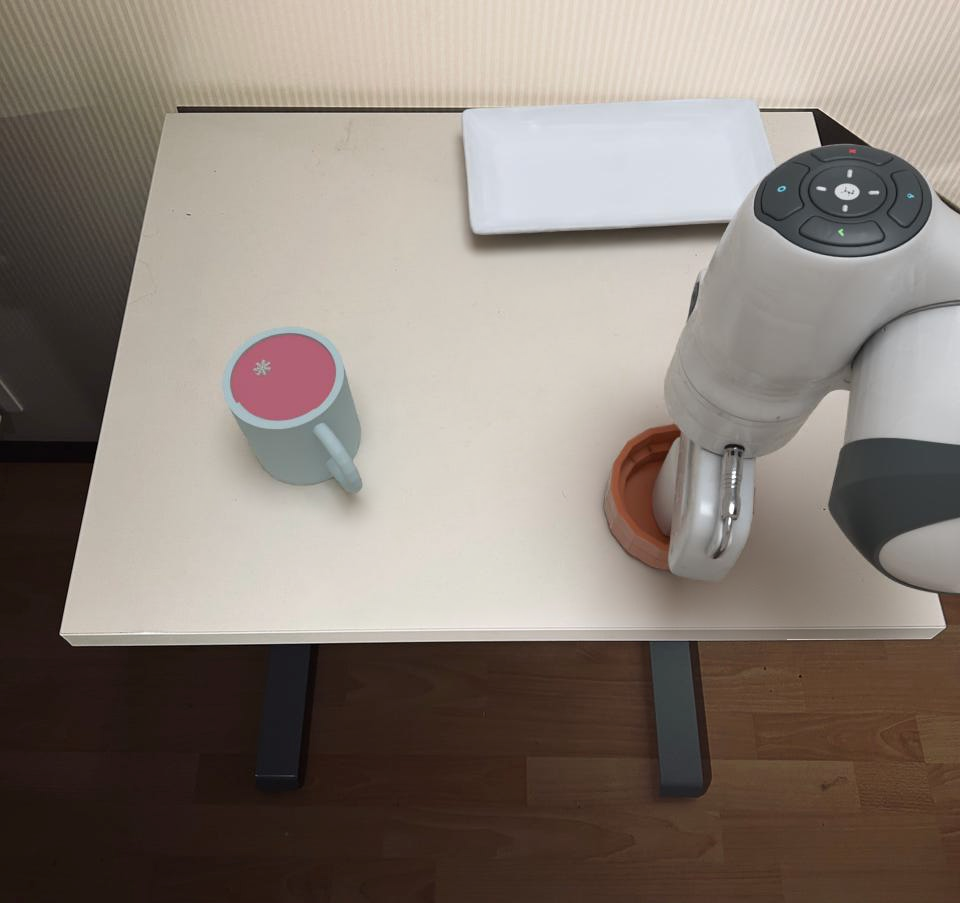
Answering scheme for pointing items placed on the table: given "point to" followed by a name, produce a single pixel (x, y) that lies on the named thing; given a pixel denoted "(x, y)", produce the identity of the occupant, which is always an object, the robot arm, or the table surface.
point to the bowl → (640, 495)
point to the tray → (612, 164)
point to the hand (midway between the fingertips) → (687, 477)
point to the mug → (295, 406)
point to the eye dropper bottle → (666, 490)
